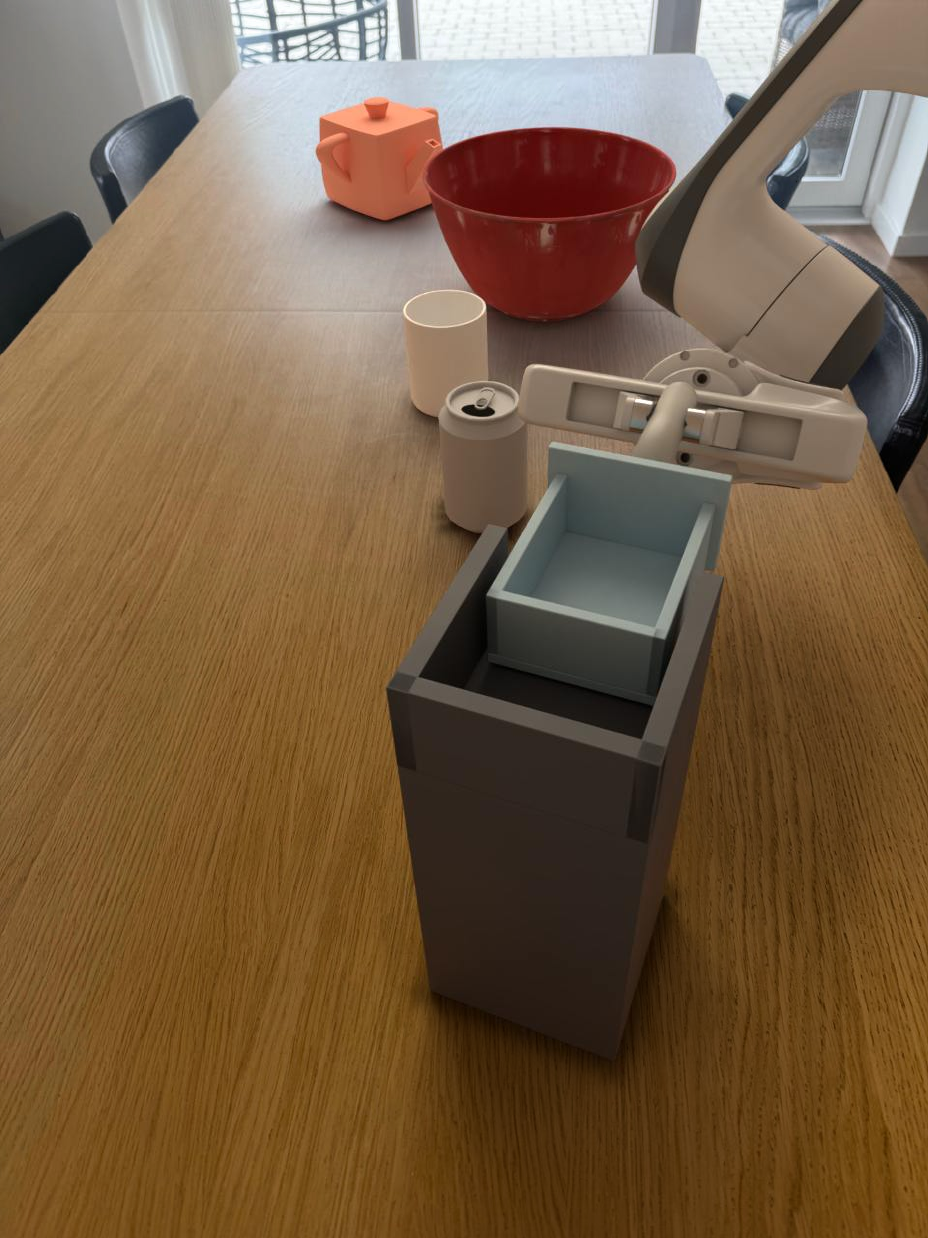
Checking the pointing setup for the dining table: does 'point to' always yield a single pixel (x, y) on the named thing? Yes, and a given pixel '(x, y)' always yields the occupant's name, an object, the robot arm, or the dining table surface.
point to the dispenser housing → (539, 815)
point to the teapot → (378, 156)
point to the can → (483, 456)
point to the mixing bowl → (546, 214)
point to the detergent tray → (610, 561)
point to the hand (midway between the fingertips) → (666, 421)
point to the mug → (444, 345)
